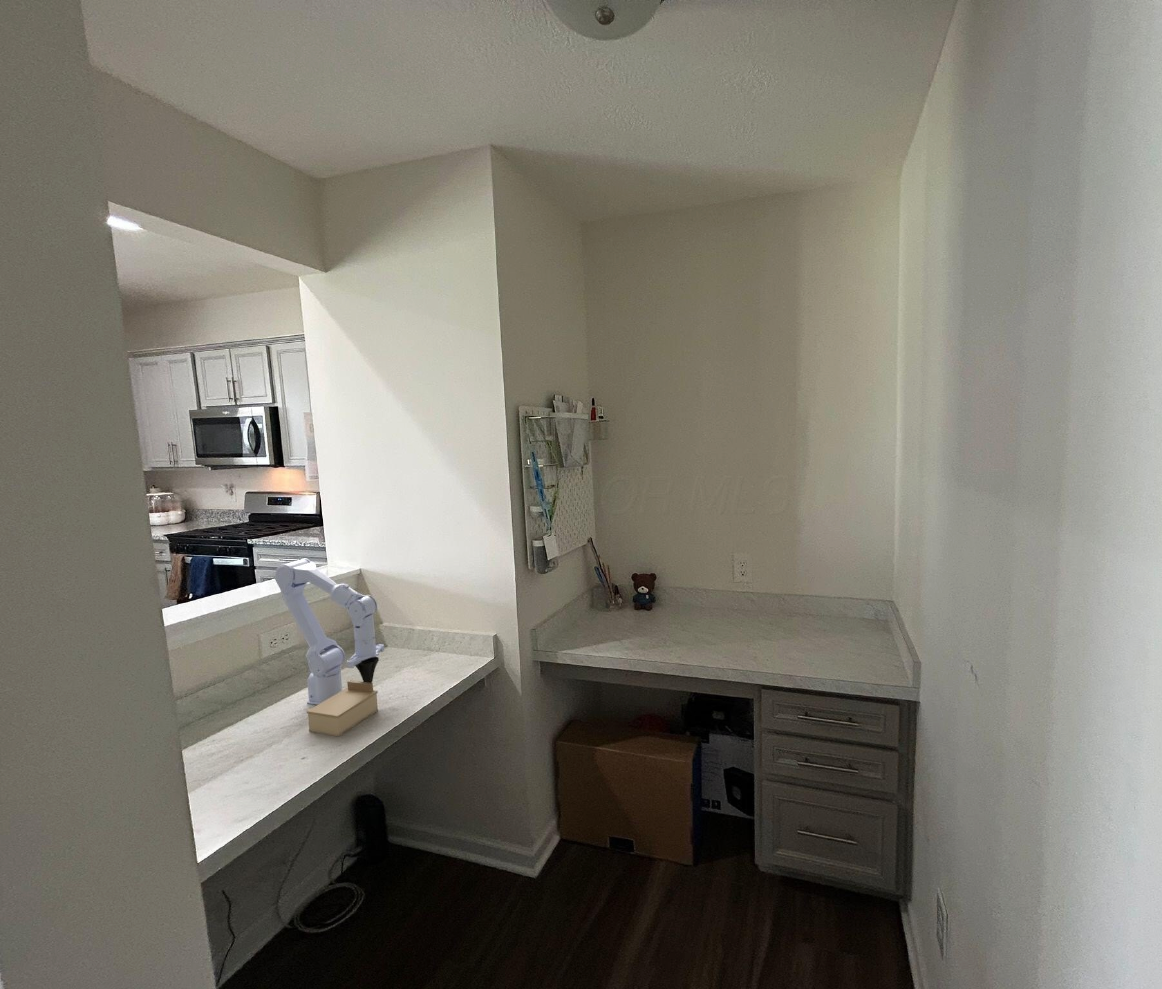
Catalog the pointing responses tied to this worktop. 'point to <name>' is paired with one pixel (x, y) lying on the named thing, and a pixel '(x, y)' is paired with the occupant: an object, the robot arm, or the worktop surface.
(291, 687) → the worktop surface
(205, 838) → the worktop surface
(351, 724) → the lidded box
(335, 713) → the lid
